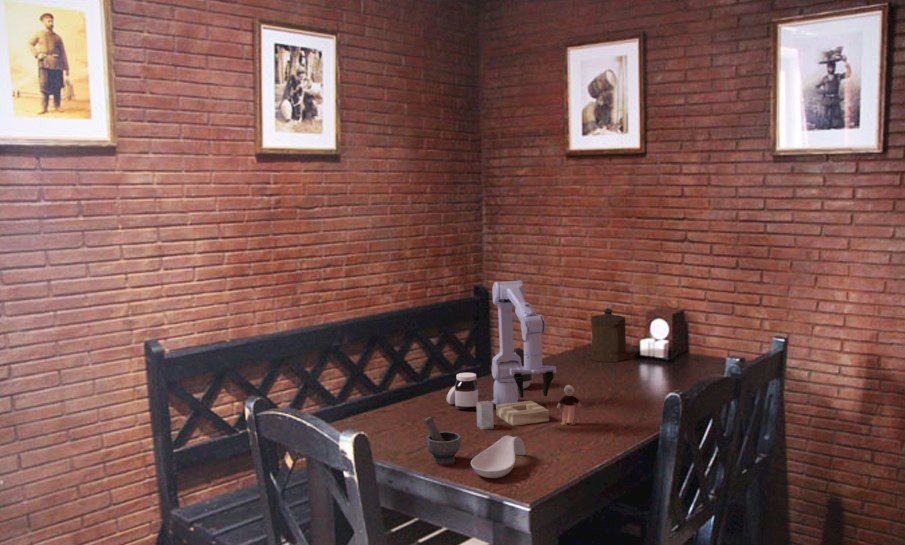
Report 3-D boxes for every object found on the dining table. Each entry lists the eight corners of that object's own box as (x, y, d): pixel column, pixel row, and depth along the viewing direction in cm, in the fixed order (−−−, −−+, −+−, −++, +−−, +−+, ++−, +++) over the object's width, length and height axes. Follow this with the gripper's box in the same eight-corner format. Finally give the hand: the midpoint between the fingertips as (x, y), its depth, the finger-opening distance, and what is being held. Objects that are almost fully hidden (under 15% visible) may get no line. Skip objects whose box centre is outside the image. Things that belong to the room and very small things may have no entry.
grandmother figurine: (560, 426, 256) (560, 387, 254) (556, 423, 259) (555, 384, 258) (583, 424, 258) (583, 385, 256) (578, 420, 261) (577, 382, 260)
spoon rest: (504, 486, 208) (504, 459, 207) (463, 479, 213) (463, 453, 212) (537, 457, 229) (536, 432, 228) (498, 451, 234) (498, 427, 233)
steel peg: (476, 426, 258) (476, 402, 257) (488, 424, 259) (488, 400, 259) (481, 429, 254) (481, 405, 253) (493, 428, 256) (493, 403, 255)
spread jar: (475, 412, 274) (474, 378, 273) (442, 411, 276) (442, 377, 275) (481, 402, 286) (480, 370, 284) (450, 401, 288) (449, 369, 286)
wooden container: (606, 353, 361) (605, 304, 358) (632, 358, 349) (632, 308, 347) (583, 358, 351) (583, 308, 349) (610, 364, 340) (610, 312, 338)
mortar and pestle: (467, 458, 228) (466, 417, 227) (449, 468, 220) (449, 426, 219) (434, 452, 234) (433, 411, 233) (416, 461, 226) (415, 420, 225)
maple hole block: (496, 415, 270) (496, 405, 269) (531, 410, 274) (531, 400, 274) (512, 425, 257) (512, 415, 257) (549, 420, 262) (549, 410, 262)
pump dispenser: (532, 384, 310) (532, 345, 308) (532, 391, 299) (532, 351, 298) (506, 384, 311) (505, 345, 309) (505, 391, 300) (504, 351, 299)
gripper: (512, 357, 248) (513, 400, 250) (558, 355, 250) (559, 398, 252) (508, 353, 255) (508, 394, 257) (552, 350, 257) (553, 392, 258)
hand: (533, 396), depth 255 cm, fingers open, 7 cm apart
